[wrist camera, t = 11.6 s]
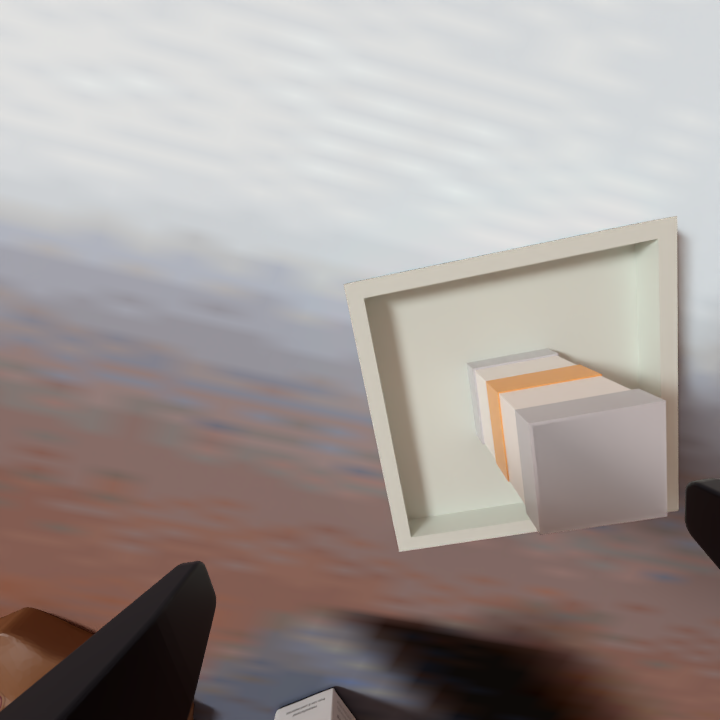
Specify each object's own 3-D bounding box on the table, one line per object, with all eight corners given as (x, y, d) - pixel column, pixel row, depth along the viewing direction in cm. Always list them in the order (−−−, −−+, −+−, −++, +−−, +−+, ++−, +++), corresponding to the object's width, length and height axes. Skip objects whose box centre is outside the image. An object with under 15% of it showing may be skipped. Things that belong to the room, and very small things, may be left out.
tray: (650, 488, 21) (678, 510, 20) (396, 527, 23) (399, 551, 21) (644, 222, 18) (677, 216, 16) (346, 283, 19) (343, 285, 17)
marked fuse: (553, 421, 20) (666, 516, 12) (476, 434, 20) (540, 534, 13) (547, 348, 19) (666, 400, 11) (466, 362, 20) (528, 423, 12)
